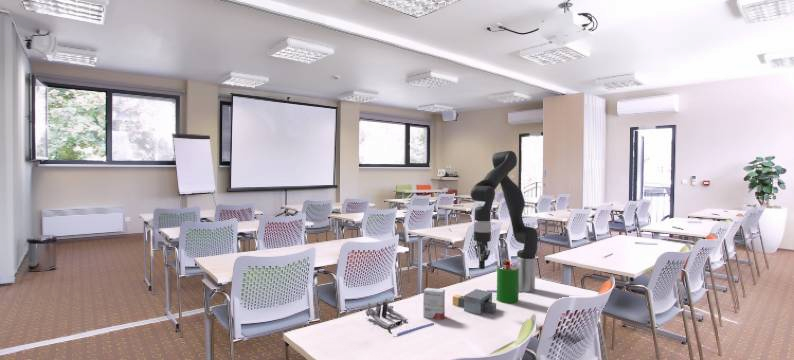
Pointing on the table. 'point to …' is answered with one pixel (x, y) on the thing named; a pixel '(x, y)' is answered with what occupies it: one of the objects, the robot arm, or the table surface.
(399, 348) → the table surface
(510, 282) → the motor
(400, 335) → the table surface
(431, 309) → the ink box
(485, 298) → the housing
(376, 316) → the bike brake
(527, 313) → the table surface
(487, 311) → the plug rod
